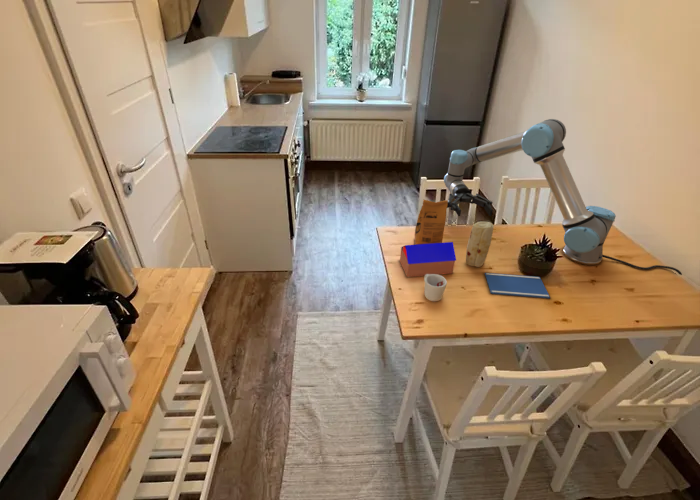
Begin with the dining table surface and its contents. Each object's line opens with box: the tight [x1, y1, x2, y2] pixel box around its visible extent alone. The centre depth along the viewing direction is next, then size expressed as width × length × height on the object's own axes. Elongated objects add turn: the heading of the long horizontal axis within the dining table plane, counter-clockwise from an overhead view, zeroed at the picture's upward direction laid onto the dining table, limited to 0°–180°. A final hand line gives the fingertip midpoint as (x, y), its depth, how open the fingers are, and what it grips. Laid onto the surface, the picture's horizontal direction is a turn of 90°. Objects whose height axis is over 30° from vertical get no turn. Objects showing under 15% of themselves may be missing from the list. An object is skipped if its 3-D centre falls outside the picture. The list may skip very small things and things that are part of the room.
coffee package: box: [414, 199, 448, 245], centre depth 171 cm, size 10×12×22 cm
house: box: [399, 241, 457, 278], centre depth 158 cm, size 12×20×12 cm, turn 99°
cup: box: [423, 274, 448, 302], centre depth 144 cm, size 11×8×8 cm
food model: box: [465, 221, 495, 268], centre depth 158 cm, size 10×7×20 cm
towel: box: [484, 272, 551, 300], centre depth 152 cm, size 22×13×1 cm, turn 84°
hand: (475, 213), depth 161 cm, fingers open, 13 cm apart
